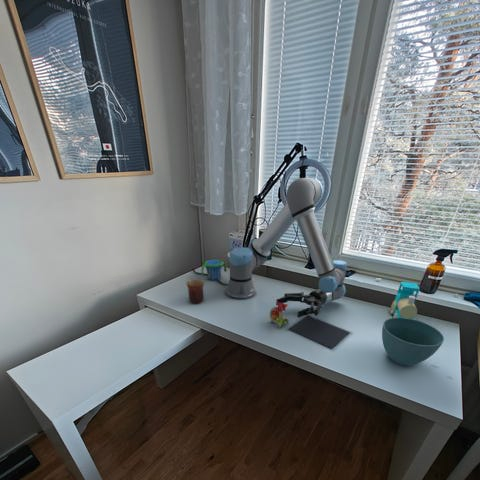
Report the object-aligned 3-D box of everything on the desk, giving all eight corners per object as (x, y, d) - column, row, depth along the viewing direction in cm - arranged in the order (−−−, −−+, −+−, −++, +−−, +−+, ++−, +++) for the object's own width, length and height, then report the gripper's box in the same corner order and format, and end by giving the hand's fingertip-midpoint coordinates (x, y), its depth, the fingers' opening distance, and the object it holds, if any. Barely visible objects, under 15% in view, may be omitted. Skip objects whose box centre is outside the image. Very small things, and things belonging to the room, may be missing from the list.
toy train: (393, 326, 117) (405, 295, 109) (389, 310, 130) (399, 281, 123) (414, 330, 114) (427, 298, 107) (407, 312, 128) (418, 283, 120)
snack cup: (204, 283, 156) (203, 266, 151) (199, 277, 165) (198, 261, 159) (229, 279, 161) (229, 263, 156) (223, 273, 170) (223, 258, 164)
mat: (288, 329, 114) (288, 328, 114) (308, 316, 124) (308, 315, 124) (331, 349, 102) (331, 348, 102) (349, 332, 112) (349, 332, 112)
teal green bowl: (369, 362, 95) (379, 333, 89) (378, 338, 108) (387, 312, 102) (428, 382, 87) (444, 352, 81) (430, 354, 100) (444, 326, 94)
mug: (203, 305, 132) (202, 286, 127) (186, 304, 132) (184, 285, 127) (207, 295, 142) (206, 276, 137) (190, 294, 142) (189, 276, 137)
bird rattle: (268, 328, 118) (284, 328, 111) (261, 305, 115) (278, 303, 109) (276, 323, 122) (292, 323, 115) (270, 300, 119) (286, 299, 113)
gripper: (339, 314, 120) (307, 328, 110) (299, 294, 138) (268, 305, 127) (343, 299, 116) (309, 312, 106) (301, 281, 134) (269, 290, 123)
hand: (287, 308), depth 116 cm, fingers open, 13 cm apart
